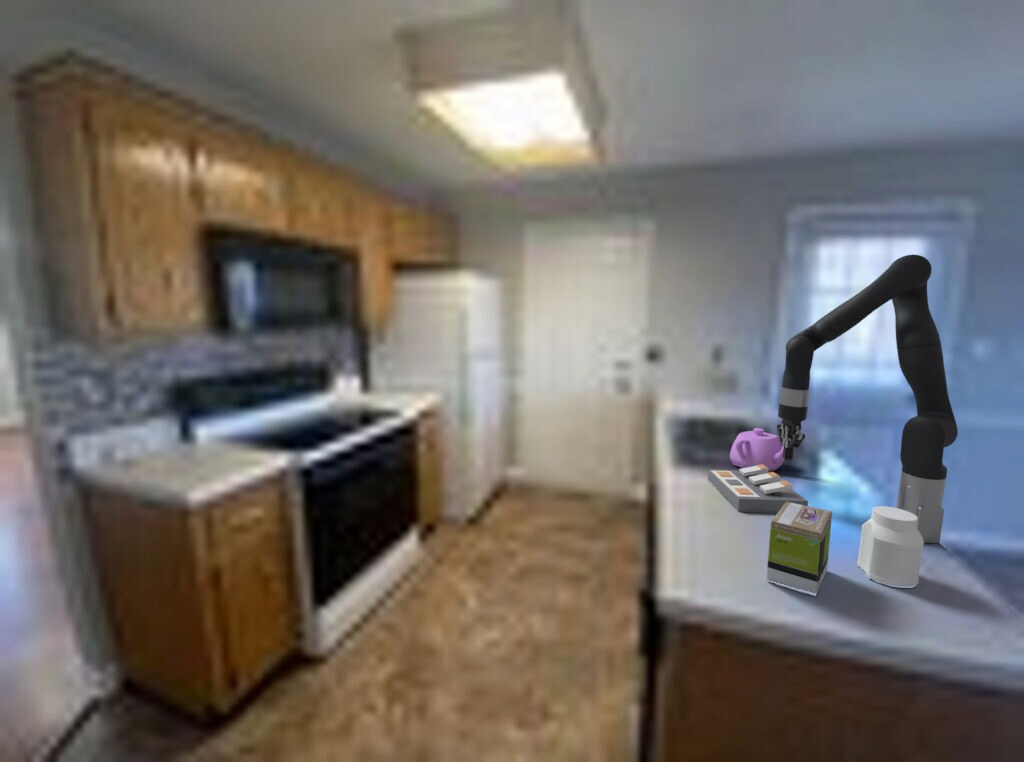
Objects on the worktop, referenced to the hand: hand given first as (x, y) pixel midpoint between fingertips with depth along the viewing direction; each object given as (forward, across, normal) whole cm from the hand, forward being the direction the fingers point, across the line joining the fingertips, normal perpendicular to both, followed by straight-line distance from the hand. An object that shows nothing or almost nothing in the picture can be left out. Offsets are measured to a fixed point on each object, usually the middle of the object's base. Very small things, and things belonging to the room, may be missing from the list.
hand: (787, 459), depth 154 cm
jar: (+15, -40, -5) cm, 43 cm away
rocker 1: (+9, +16, +3) cm, 18 cm away
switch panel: (+15, +8, +6) cm, 18 cm away
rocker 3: (+9, 0, +3) cm, 9 cm away
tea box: (+15, -42, +16) cm, 48 cm away
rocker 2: (+9, +8, +3) cm, 12 cm away
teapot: (+15, +38, -8) cm, 42 cm away
